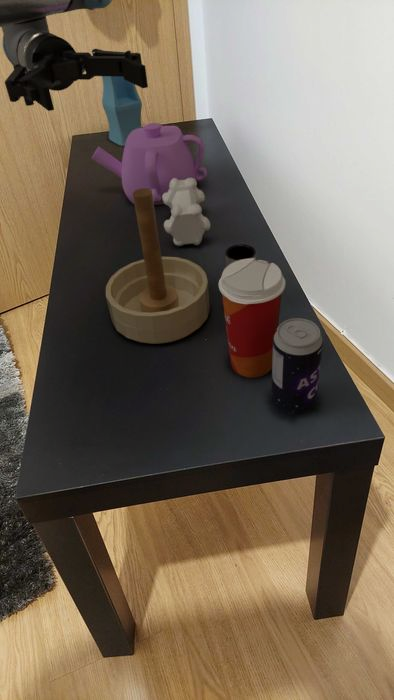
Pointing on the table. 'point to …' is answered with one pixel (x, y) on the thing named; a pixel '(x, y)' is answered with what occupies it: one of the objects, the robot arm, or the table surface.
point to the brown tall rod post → (152, 257)
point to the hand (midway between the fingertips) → (98, 87)
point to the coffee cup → (251, 313)
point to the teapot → (154, 160)
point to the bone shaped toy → (185, 212)
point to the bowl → (162, 324)
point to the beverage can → (296, 365)
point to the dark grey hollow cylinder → (239, 253)
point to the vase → (121, 108)
